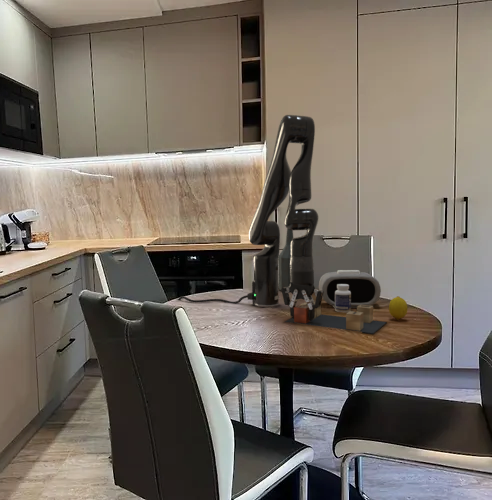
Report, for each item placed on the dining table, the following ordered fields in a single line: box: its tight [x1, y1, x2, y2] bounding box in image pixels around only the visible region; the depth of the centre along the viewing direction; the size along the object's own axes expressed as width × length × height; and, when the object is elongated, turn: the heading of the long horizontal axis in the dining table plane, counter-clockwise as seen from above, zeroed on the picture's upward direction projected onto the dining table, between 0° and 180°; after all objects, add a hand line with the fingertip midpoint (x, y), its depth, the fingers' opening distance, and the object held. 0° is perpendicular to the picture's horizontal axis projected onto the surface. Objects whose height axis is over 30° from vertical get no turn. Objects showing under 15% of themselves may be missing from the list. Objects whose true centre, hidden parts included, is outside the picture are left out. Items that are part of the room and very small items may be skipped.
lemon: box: [388, 296, 409, 321], centre depth 161 cm, size 6×6×8 cm
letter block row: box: [345, 305, 374, 332], centre depth 156 cm, size 4×15×5 cm, turn 140°
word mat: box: [284, 313, 388, 335], centre depth 161 cm, size 28×16×1 cm, turn 50°
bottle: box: [278, 228, 294, 293], centre depth 219 cm, size 10×10×30 cm
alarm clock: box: [318, 269, 382, 309], centre depth 184 cm, size 21×10×13 cm, turn 76°
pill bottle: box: [334, 284, 352, 314], centre depth 176 cm, size 5×5×10 cm
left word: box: [299, 299, 322, 319], centre depth 169 cm, size 4×9×5 cm, turn 140°
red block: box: [294, 304, 310, 324], centre depth 163 cm, size 4×4×5 cm
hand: (302, 318), depth 163 cm, fingers open, 5 cm apart
